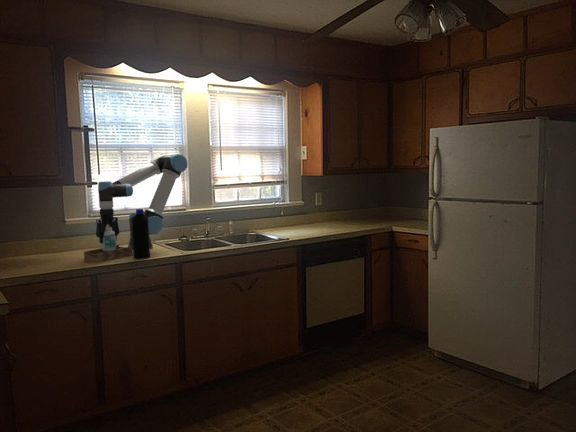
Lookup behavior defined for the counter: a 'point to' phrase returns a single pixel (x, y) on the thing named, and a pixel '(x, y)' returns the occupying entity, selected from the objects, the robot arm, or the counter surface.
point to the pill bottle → (109, 239)
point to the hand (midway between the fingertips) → (108, 247)
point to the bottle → (140, 235)
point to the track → (107, 254)
